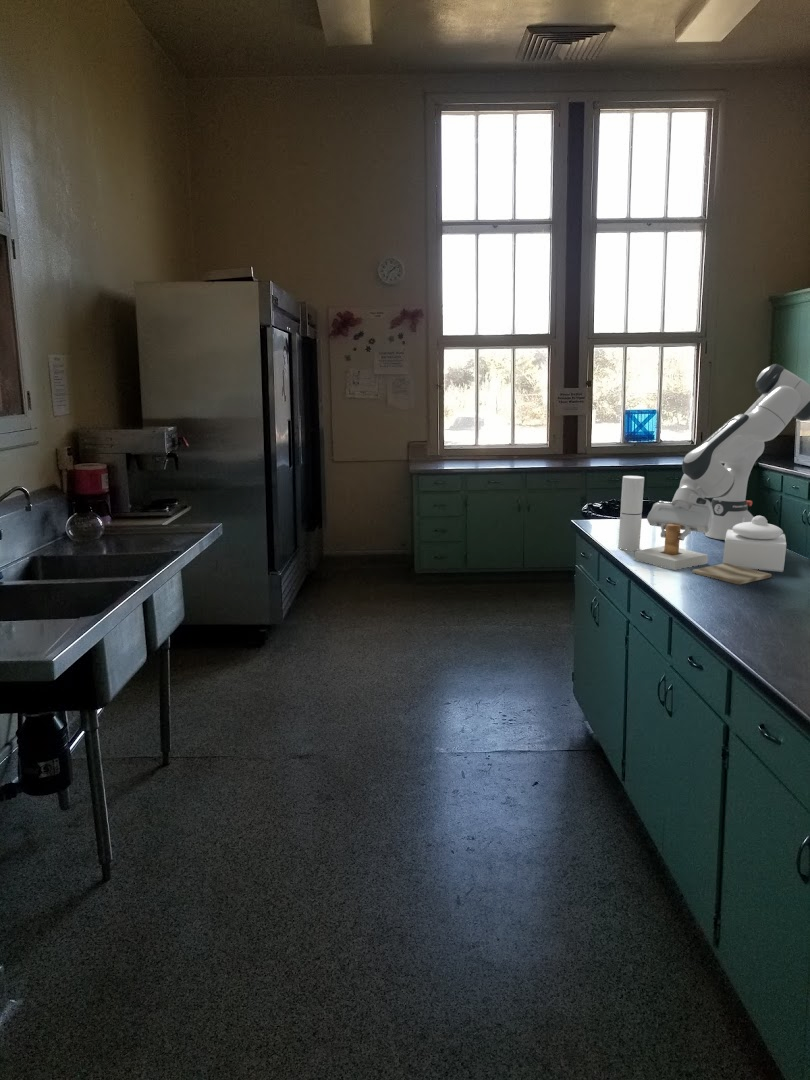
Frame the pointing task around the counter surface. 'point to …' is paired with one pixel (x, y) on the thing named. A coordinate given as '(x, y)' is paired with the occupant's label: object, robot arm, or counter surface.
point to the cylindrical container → (631, 512)
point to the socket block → (671, 558)
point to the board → (732, 573)
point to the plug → (672, 539)
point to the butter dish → (755, 545)
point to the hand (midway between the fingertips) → (671, 537)
